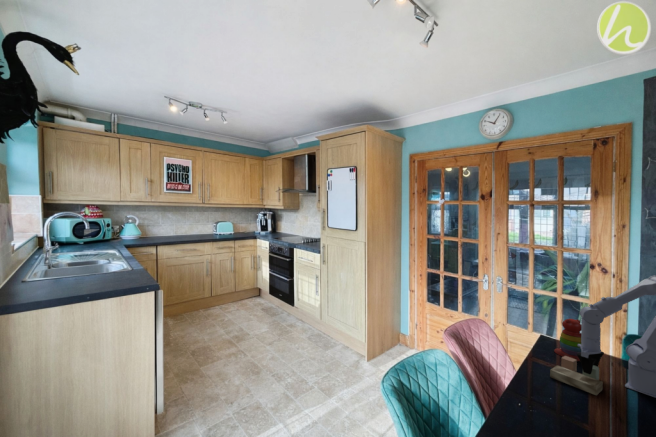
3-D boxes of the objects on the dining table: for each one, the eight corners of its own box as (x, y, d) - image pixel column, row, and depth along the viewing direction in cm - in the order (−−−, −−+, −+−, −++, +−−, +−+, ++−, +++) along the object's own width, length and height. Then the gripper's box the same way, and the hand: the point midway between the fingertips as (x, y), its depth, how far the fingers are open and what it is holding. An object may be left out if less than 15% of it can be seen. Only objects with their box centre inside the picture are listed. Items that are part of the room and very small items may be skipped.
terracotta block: (576, 371, 118) (576, 359, 118) (573, 373, 116) (573, 362, 116) (564, 367, 121) (564, 355, 121) (561, 369, 119) (561, 357, 119)
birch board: (602, 389, 105) (602, 381, 105) (596, 395, 101) (596, 387, 101) (557, 372, 117) (557, 364, 117) (550, 377, 113) (550, 369, 113)
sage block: (599, 379, 112) (599, 367, 112) (595, 382, 110) (595, 369, 110) (585, 374, 115) (585, 362, 115) (582, 377, 113) (582, 365, 113)
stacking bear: (575, 352, 135) (575, 315, 135) (593, 362, 125) (593, 323, 125) (552, 350, 136) (552, 314, 136) (567, 361, 126) (567, 322, 126)
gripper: (584, 330, 120) (583, 361, 120) (571, 337, 112) (571, 370, 112) (606, 336, 114) (606, 369, 114) (594, 344, 106) (594, 379, 106)
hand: (590, 370), depth 112 cm, fingers open, 7 cm apart
